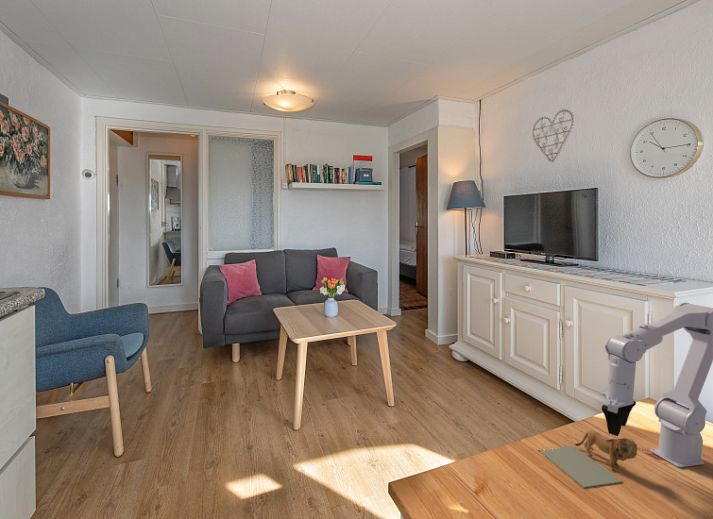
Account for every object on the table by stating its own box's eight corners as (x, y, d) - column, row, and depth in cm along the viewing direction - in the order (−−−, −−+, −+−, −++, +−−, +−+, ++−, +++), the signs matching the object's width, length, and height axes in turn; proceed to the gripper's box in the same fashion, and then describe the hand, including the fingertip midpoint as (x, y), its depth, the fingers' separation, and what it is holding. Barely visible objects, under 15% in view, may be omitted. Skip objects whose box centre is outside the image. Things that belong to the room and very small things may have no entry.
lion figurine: (637, 473, 96) (642, 440, 96) (629, 479, 93) (634, 445, 93) (578, 444, 109) (583, 415, 108) (569, 448, 106) (574, 418, 105)
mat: (572, 446, 108) (572, 445, 108) (623, 482, 92) (623, 481, 92) (537, 450, 105) (537, 448, 105) (583, 488, 90) (583, 486, 90)
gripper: (610, 370, 107) (607, 415, 108) (596, 383, 97) (592, 432, 98) (640, 378, 102) (636, 425, 103) (628, 392, 92) (624, 444, 93)
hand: (617, 429), depth 100 cm, fingers open, 7 cm apart
